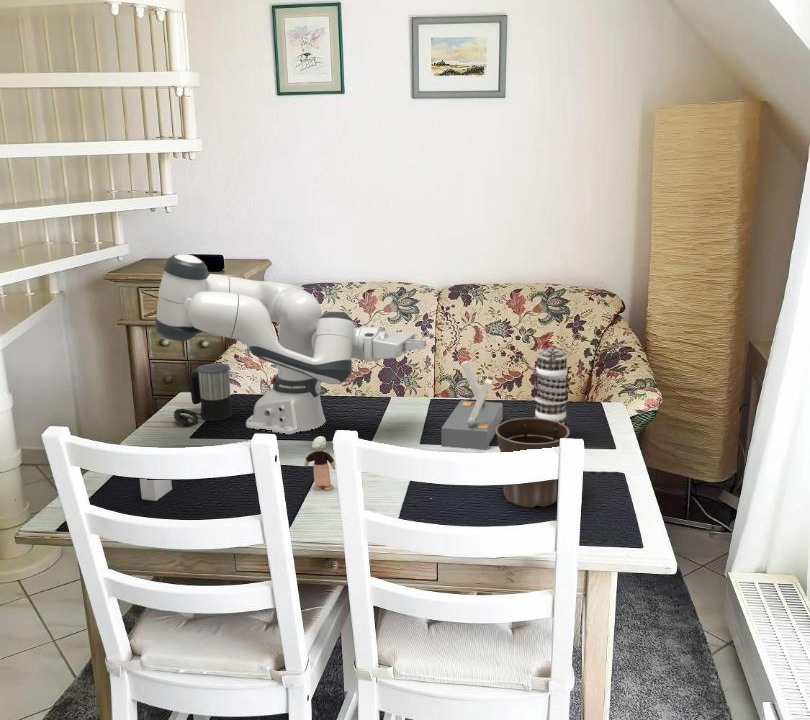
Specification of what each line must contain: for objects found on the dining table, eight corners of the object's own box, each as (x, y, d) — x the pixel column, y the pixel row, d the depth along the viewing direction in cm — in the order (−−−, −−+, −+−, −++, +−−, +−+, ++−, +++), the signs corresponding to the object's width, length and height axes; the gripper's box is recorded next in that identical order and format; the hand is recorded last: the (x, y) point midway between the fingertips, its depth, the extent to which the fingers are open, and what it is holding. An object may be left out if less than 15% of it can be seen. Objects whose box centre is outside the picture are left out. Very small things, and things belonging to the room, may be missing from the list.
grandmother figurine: (338, 484, 206) (336, 433, 203) (337, 491, 203) (334, 439, 199) (306, 484, 206) (303, 434, 203) (303, 491, 203) (301, 439, 199)
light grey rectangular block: (172, 489, 206) (168, 449, 203) (155, 501, 199) (151, 459, 197) (158, 487, 207) (154, 447, 204) (141, 499, 200) (137, 458, 198)
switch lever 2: (465, 424, 227) (483, 381, 223) (468, 419, 231) (486, 377, 227) (472, 427, 227) (490, 385, 223) (475, 422, 231) (493, 380, 226)
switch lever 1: (477, 406, 243) (459, 365, 242) (480, 402, 247) (462, 362, 245) (484, 404, 242) (466, 363, 241) (487, 400, 246) (469, 359, 245)
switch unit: (441, 446, 229) (441, 427, 228) (460, 416, 251) (460, 399, 250) (486, 449, 226) (486, 430, 224) (502, 419, 248) (502, 402, 247)
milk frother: (238, 412, 259) (235, 363, 255) (214, 430, 245) (209, 379, 241) (195, 409, 263) (191, 361, 259) (168, 426, 248) (163, 376, 244)
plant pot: (552, 518, 187) (554, 447, 182) (483, 504, 194) (483, 435, 190) (577, 490, 200) (579, 424, 196) (511, 478, 208) (512, 413, 204)
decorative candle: (532, 435, 236) (534, 345, 229) (567, 436, 234) (570, 345, 228) (531, 447, 227) (533, 354, 220) (567, 448, 226) (570, 355, 219)
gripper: (383, 348, 241) (433, 350, 238) (363, 362, 222) (417, 364, 219) (383, 326, 240) (432, 327, 237) (363, 338, 221) (416, 339, 218)
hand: (425, 344), depth 228 cm, fingers closed
